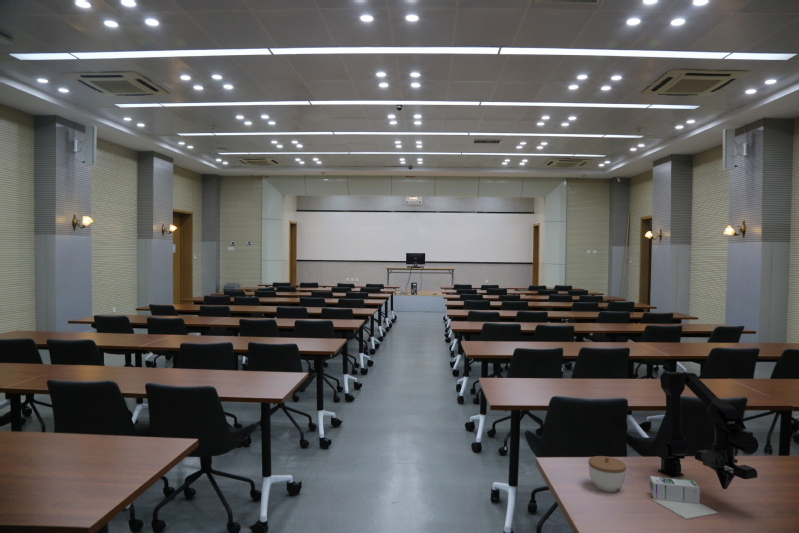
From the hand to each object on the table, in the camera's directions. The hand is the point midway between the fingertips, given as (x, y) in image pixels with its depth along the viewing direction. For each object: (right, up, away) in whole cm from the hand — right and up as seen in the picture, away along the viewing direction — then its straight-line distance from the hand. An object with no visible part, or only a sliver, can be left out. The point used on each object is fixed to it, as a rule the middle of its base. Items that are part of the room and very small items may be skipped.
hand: (724, 488), depth 167 cm
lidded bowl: (-35, -5, +12) cm, 37 cm away
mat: (-15, -5, -2) cm, 16 cm away
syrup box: (-8, -2, +2) cm, 9 cm away
